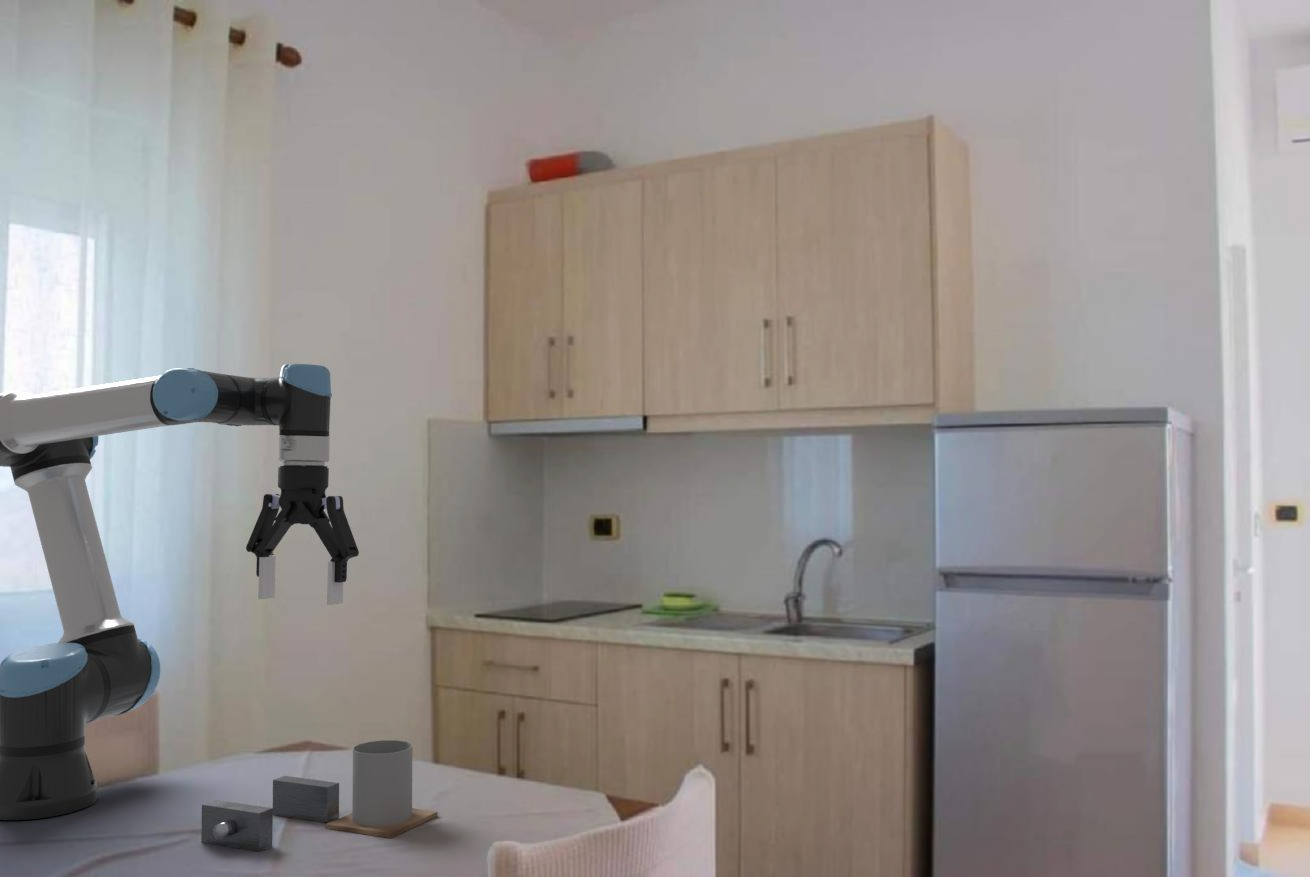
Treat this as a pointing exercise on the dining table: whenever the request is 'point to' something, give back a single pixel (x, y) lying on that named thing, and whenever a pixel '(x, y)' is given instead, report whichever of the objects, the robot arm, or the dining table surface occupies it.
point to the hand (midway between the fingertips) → (300, 601)
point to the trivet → (385, 831)
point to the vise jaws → (268, 813)
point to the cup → (382, 783)
